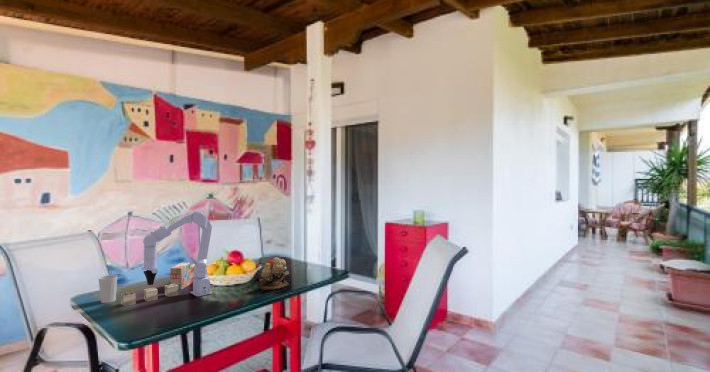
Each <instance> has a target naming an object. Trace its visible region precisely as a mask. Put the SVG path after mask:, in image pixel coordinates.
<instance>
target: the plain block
mask: <svg viewBox="0 0 710 372" xmlns="http://www.w3.org/2000/svg"><path fill="white" fill-rule="evenodd" d="M158 297H159V293H158V289H157V288H156V287H148V288H145V289H143V299H145V300H144V301H146V302H151V301H155V300H158V299H159V298H158Z"/></svg>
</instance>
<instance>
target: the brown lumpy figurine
mask: <svg viewBox="0 0 710 372" xmlns="http://www.w3.org/2000/svg"><path fill="white" fill-rule="evenodd" d="M272 260H273V264H274V265H273V266H272V265H271V264H270V263H267V262H265V264H264V265H263V268H262V270H261V278H259V282H260V283H262V284H261V285H260V286H259V289H260V290H261V289H262V290H261V291H264V290H271V291H276V290H275V289H278V290H281V289H280V288H282V289H284V287H285V288H287V287H289V285H290V284H289V282H288V281H287V280H285V278H287V277H288V275H290V272H289V270H288V271H287V262H286V260H285V259H281V258H280V257H276V256H275V257H273V259H272ZM286 286H287V287H286Z"/></svg>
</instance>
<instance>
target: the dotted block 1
mask: <svg viewBox="0 0 710 372" xmlns="http://www.w3.org/2000/svg"><path fill="white" fill-rule="evenodd" d="M136 297H137V296H136V293H135V292H133V291H129V292H124V293H121V294H120V299H121V300H120V301H121V302H120V304H121V305H122V307H126V306H133V305H136V303H137V301H136V300H137V298H136Z"/></svg>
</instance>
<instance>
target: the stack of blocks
mask: <svg viewBox="0 0 710 372" xmlns="http://www.w3.org/2000/svg"><path fill="white" fill-rule="evenodd" d="M195 264H196V263H193V264H192V262H180V263H177V264H176V265H174V266H172V267H170V275H169V276H170V284H176V285H178V290H183V289H185V288H187V287H188V286H190V285H191V284H193V276H194V275H195V274H194V266H195Z"/></svg>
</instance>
